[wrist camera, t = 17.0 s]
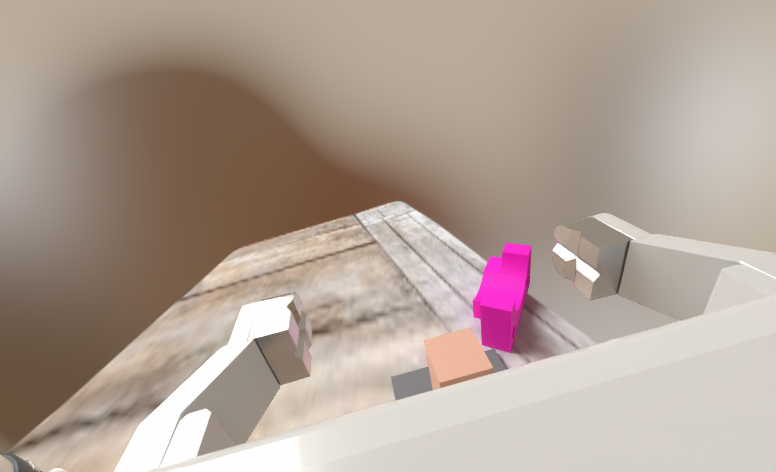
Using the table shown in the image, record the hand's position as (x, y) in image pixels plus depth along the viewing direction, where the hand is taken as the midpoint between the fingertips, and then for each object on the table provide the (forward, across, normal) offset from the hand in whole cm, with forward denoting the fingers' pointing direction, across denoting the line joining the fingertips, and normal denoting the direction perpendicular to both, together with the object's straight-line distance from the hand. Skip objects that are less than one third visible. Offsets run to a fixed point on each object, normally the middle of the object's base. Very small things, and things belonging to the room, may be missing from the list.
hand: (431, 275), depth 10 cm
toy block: (+26, -15, +30) cm, 43 cm away
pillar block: (+12, -4, +29) cm, 32 cm away
